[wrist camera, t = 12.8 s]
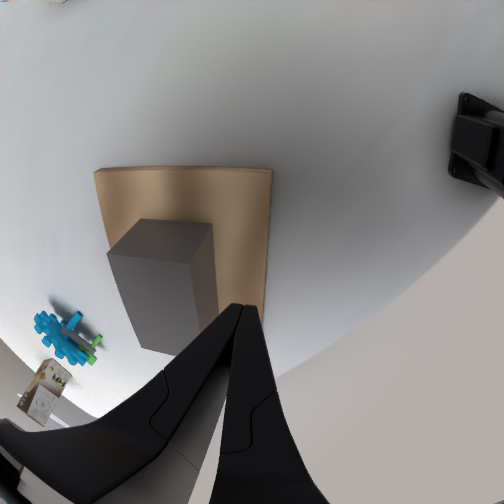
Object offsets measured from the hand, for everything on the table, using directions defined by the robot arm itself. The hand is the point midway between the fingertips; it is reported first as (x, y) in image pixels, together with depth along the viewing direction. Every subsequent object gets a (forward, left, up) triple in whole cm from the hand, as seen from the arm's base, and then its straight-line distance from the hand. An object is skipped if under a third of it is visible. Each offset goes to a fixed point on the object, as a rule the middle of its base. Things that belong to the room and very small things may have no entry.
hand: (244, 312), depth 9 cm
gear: (+27, +21, -12) cm, 36 cm away
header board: (+7, +8, -12) cm, 16 cm away
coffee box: (+48, +45, -12) cm, 67 cm away
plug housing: (+7, +8, -11) cm, 15 cm away
